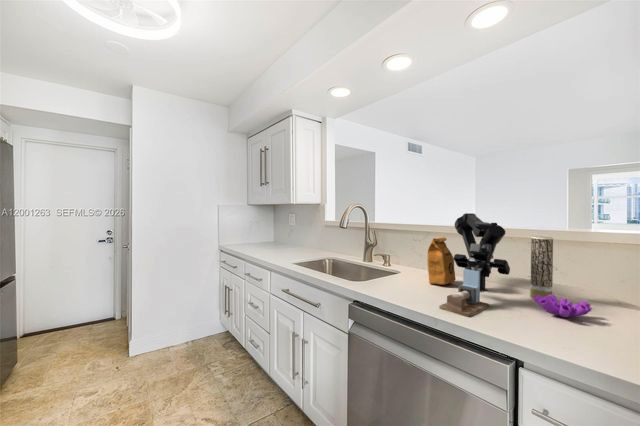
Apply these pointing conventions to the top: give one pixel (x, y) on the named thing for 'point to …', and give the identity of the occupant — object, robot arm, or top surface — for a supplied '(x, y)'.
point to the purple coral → (562, 306)
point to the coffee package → (440, 263)
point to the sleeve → (472, 281)
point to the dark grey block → (473, 293)
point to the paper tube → (541, 266)
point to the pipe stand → (462, 304)
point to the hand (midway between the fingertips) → (473, 280)
